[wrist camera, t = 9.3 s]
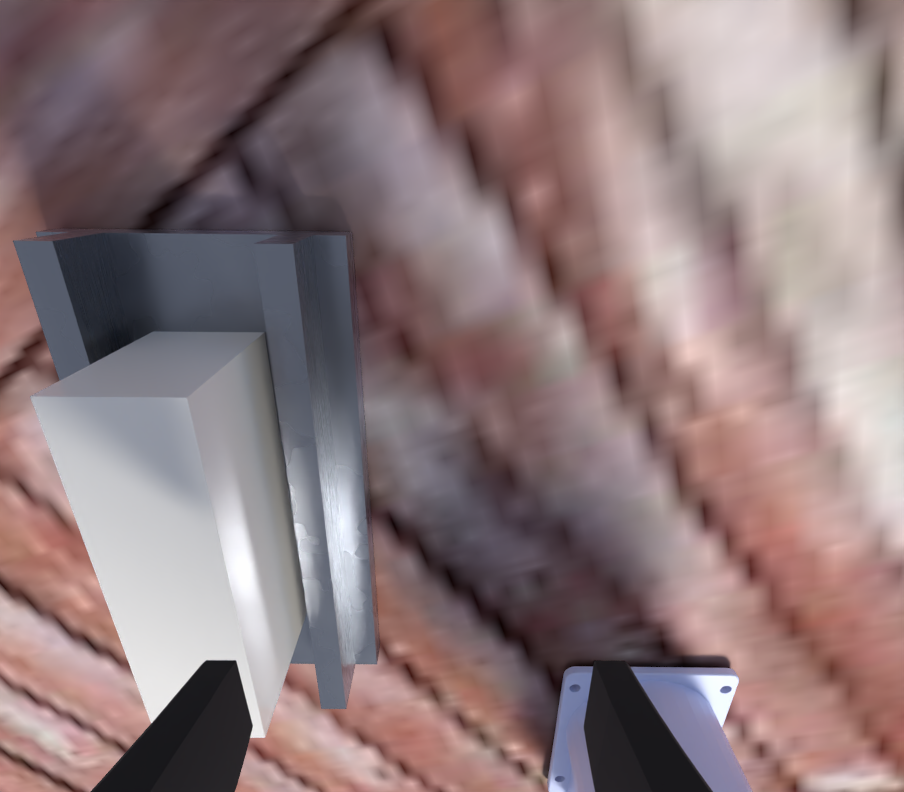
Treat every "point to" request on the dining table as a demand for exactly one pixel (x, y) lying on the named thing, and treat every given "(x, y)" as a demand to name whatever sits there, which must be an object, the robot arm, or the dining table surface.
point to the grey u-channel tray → (292, 372)
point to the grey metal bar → (184, 508)
